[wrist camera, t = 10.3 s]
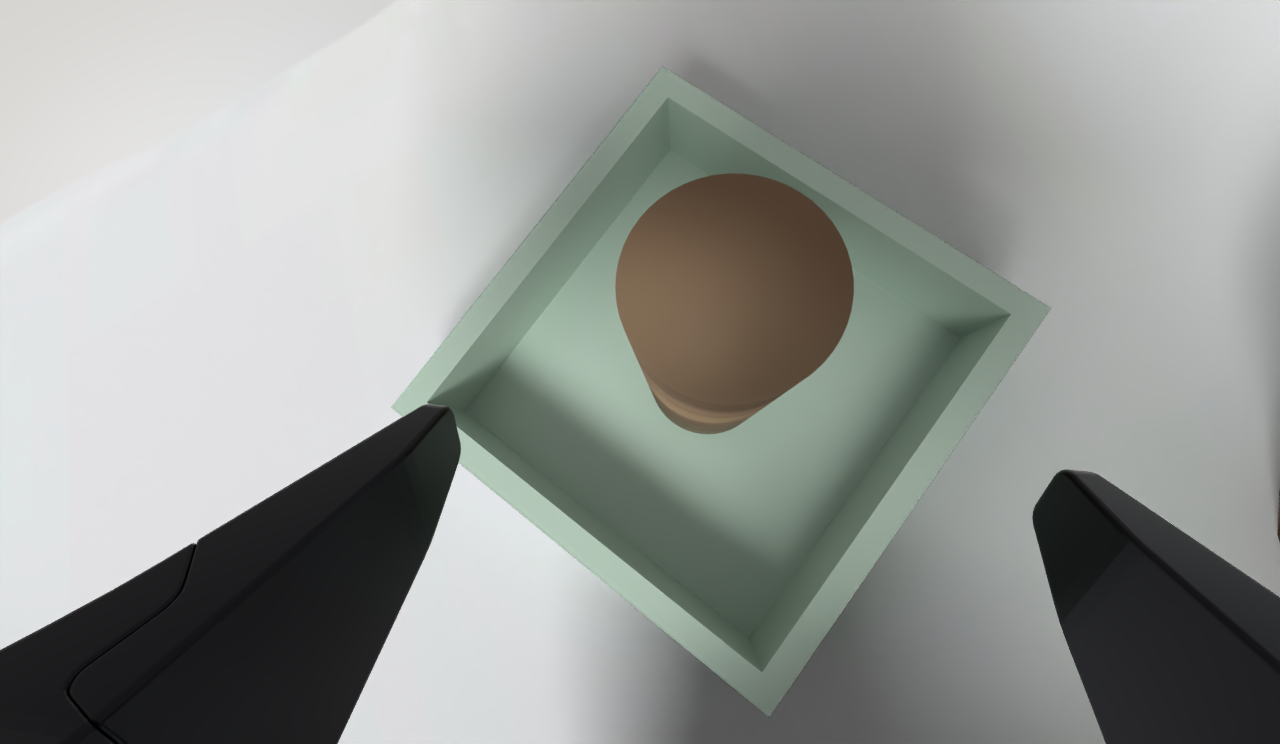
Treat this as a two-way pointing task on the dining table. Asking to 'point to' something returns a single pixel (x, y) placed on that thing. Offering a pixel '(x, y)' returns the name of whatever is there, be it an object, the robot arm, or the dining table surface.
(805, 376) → the walnut handle
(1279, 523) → the food container
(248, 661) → the robot arm
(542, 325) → the box
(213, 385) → the dining table surface
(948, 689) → the dining table surface
